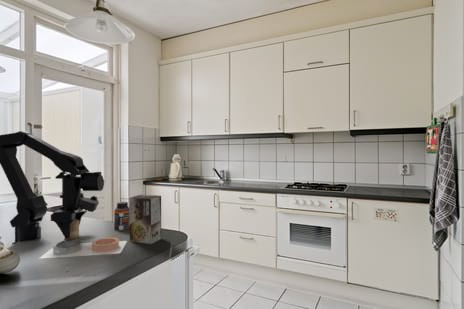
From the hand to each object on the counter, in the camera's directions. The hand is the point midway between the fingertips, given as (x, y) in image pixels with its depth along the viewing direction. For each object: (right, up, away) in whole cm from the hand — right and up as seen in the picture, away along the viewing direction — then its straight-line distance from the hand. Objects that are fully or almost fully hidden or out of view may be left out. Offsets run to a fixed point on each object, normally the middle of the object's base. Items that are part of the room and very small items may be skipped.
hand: (71, 235), depth 97 cm
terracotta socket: (+17, -1, -10) cm, 20 cm away
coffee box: (+27, -2, -2) cm, 27 cm away
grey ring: (+6, -1, -12) cm, 14 cm away
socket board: (+11, -2, -11) cm, 16 cm away
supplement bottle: (+13, -2, +13) cm, 18 cm away
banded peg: (0, -2, 0) cm, 2 cm away
